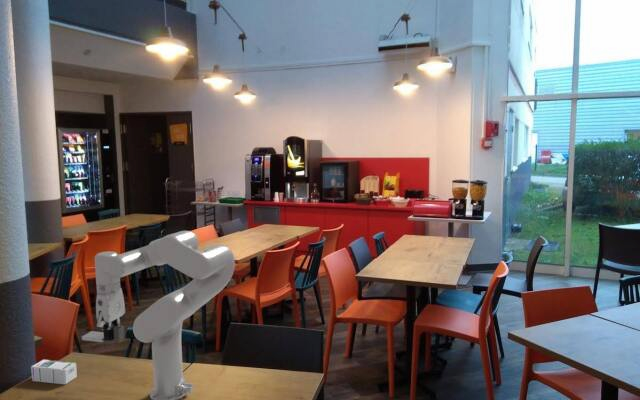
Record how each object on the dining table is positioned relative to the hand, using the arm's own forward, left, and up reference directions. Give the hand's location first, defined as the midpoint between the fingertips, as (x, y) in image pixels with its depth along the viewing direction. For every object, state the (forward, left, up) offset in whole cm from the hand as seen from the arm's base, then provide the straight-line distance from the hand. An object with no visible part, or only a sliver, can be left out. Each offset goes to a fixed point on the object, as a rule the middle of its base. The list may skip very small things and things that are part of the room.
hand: (111, 337), depth 164 cm
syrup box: (+17, +1, -15) cm, 22 cm away
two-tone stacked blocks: (+3, 0, -1) cm, 3 cm away
